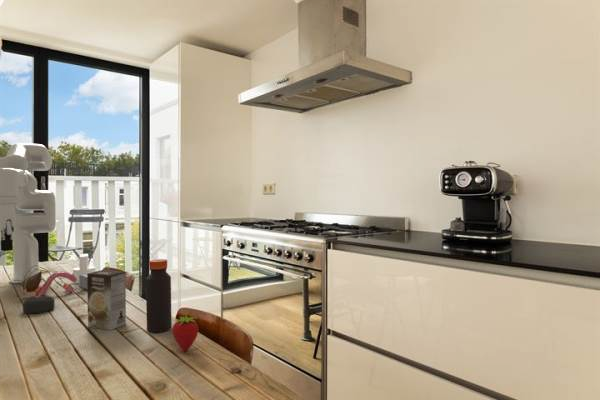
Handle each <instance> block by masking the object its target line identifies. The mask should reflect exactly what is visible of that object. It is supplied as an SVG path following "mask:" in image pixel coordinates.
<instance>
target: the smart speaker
mask: <svg viewBox="0 0 600 400" xmlns="http://www.w3.org/2000/svg"><path fill="white" fill-rule="evenodd" d="M54 308H55V298H54V297H53V296H40V297H37V296H36V297H31V298H29V299H26V300H24V301H23V303H22V311H23V313H25V314H29V315H32V314H33V315H35V314H36V315H37V314H41V313H42V314H43V313H46V312H49V311H51V310H53V309H54Z"/></svg>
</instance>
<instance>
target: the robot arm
mask: <svg viewBox="0 0 600 400" xmlns="http://www.w3.org/2000/svg"><path fill="white" fill-rule="evenodd" d="M52 165H53V160H52V157H51V154H50V152H49V150H48V148H47V147H46V145H43V144H40V143H14V144H11V146H10V147H9V148H8V150H7V152H6V155H5V156H3V157H0V251H2V252H11V251H12V253H13V254H12V256H13V257H12V258H13V260H12V261H13V277H12V278H10V279H9V283H10V284H21V282H22V281H23V280H24V277H25V275H26V273H27V272H28V271H29V270H30V269H31V268H32V267H33V266H34V265H37V266H39V264H40V263H39V242H38V240H37V238H36V237H35V236H34V235H33V234H40V233H41V234H42V233H51V232H53V231H55V229H56V225H57V221H56V220H57V219H56V217H57V213H56V211H57V210H56V207H57V206H56V196H55V194H54V192H53V191H51V190H39V189H38V181H37V180H38V179H37V178H36V177H35V176H34V175H33V174H32V173H31V172H30V171H34V172H35V171H37V172H41V171H42V172H47V171H49V170H50V169H51V168H52ZM16 209H17V210H20V211H43V212H22V213H20V212H19V213H16ZM37 266H34V267H33V268H32V269H31V270H30V271H29V272H28V273H27V275H26V277H25V279H26V278H28V276H29V275H30V274H31V273H32V272H33V270H35V269H36V268H37V269H39V268H40V267H37ZM37 269H36V270H35V271H34V272H33V273H32V274H31V275H30V276H33V275H35V274H37V273H39V272H40V269H39V270H37ZM30 276H29V277H30ZM41 280H43V275H42V276H41Z"/></svg>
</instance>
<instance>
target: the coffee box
mask: <svg viewBox="0 0 600 400" xmlns="http://www.w3.org/2000/svg"><path fill="white" fill-rule="evenodd" d="M126 273H127V272H126V271H122V270H121V271H120V270H111V269H100V270H98V271H96V270H95V272H92V273H88V274H87V290H86V291H87V327H88V328H92V329H93V328H94V329H98V330H99V329H100V330H106V331H107V330H108V331H112V330H114V329H117V328H119V327H121V326H124V325H126V324H127V317H126V316H127V314H126V313H127V307H126V304H127V302H126V301H127V300H126V297H127V295H126V294H127V293H126V292H127V291H126V289H127V288H126V287H127V286H126V285H127V284H126V281H127V280H126Z"/></svg>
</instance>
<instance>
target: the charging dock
mask: <svg viewBox="0 0 600 400" xmlns="http://www.w3.org/2000/svg"><path fill="white" fill-rule="evenodd" d="M78 285H79V287H80V288H83V289H84V290H86V291H87V275H85V274H81V275H79V283H78Z"/></svg>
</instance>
